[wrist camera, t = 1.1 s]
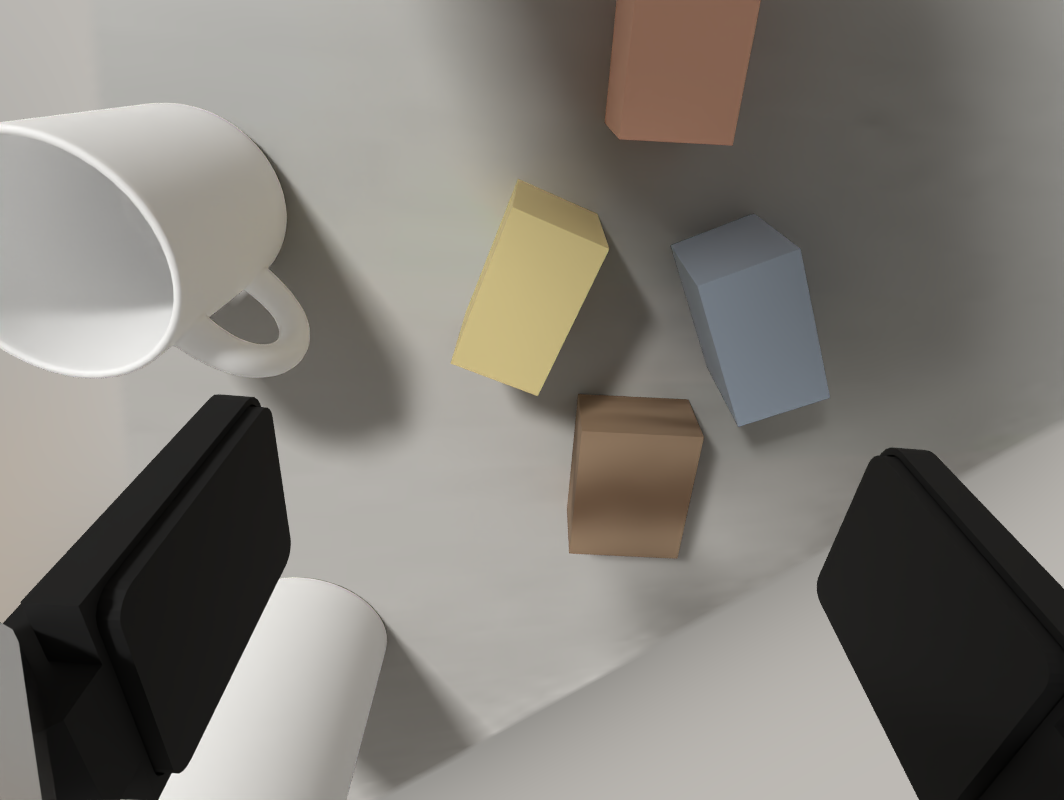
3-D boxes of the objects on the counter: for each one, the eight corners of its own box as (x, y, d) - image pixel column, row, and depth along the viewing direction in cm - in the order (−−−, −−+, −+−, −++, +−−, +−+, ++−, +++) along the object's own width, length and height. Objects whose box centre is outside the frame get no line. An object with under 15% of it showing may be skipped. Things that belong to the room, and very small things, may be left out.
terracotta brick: (624, -78, 24) (647, -115, 18) (728, -72, 24) (781, -108, 18) (604, 122, 27) (619, 139, 22) (695, 127, 27) (732, 145, 22)
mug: (388, 265, 30) (323, 355, 21) (285, 365, 33) (188, 483, 24) (174, 55, 26) (-22, 56, 17) (76, 191, 29) (-137, 254, 20)
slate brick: (670, 245, 30) (697, 286, 24) (753, 212, 29) (800, 248, 23) (706, 366, 33) (738, 427, 27) (783, 341, 32) (830, 397, 27)
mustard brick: (517, 178, 28) (512, 207, 23) (597, 213, 29) (609, 248, 24) (466, 311, 31) (450, 363, 26) (538, 340, 32) (537, 396, 27)
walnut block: (577, 392, 34) (581, 431, 30) (687, 397, 34) (703, 437, 30) (566, 506, 38) (569, 553, 34) (664, 511, 38) (677, 558, 34)
